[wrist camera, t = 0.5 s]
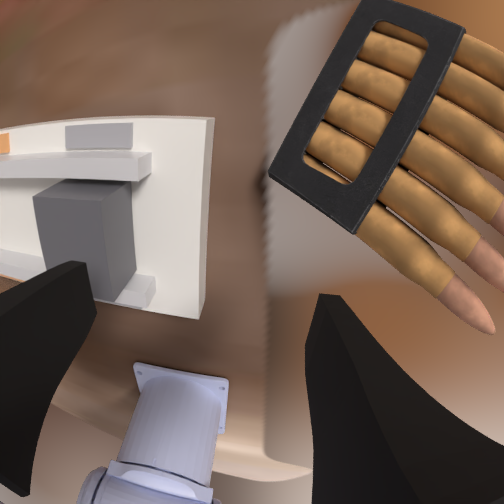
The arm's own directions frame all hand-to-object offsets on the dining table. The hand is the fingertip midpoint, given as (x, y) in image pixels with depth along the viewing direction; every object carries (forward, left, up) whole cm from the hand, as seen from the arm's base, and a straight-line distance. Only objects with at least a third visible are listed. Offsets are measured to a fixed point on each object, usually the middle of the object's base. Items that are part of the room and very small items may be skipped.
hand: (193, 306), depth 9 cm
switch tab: (-1, +7, -6) cm, 9 cm away
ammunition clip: (+7, -4, -8) cm, 11 cm away
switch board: (-1, +10, -8) cm, 13 cm away
